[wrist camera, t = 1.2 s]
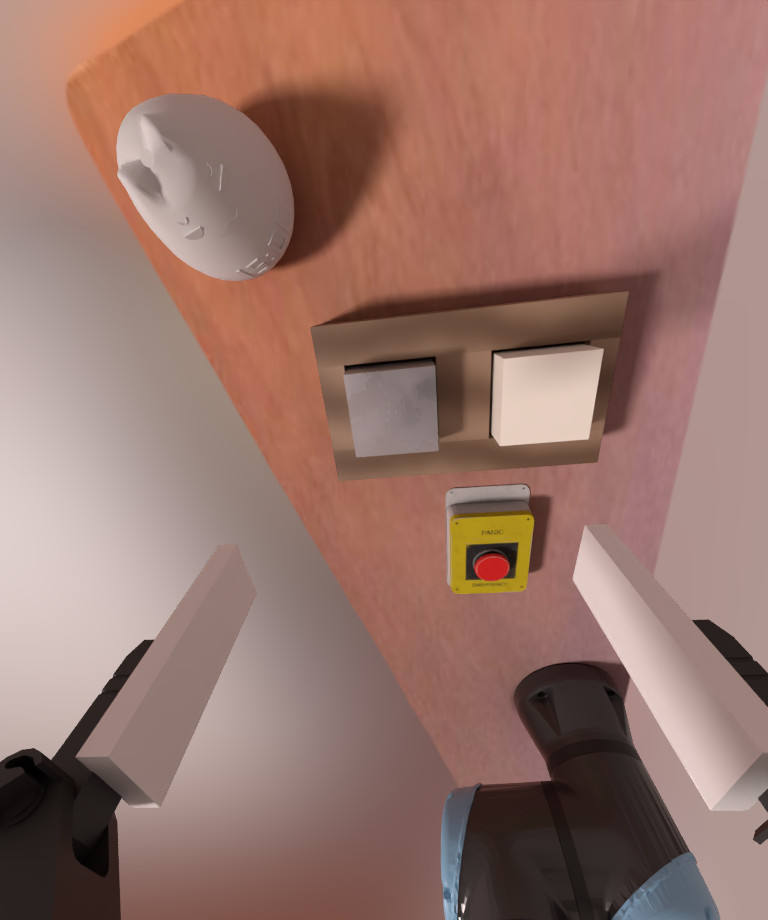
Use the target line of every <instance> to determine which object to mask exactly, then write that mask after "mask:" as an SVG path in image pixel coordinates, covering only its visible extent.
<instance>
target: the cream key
mask: <svg viewBox="0 0 768 920" xmlns="http://www.w3.org/2000/svg"><path fill="white" fill-rule="evenodd" d="M603 351H604V349H602V348H598V347H594V346H589V345H585V344H581V343H580V344H570V345H561V346H551V347H541V348H531V349H521V350H511V351H501V352H492V379H491V410H490V433H491V434H492V436H493V437H494V438H495V440H496V441H497V443H498V444H499V446H509V445H522V444H535V443H548V442H561V441H573V440H586V439H589V435H590V429H591V423H592V417H593V411H594V405H595V399H596V393H597V387H598V381H599V375H600V369H601V363H602V357H603Z"/></svg>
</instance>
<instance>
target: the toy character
mask: <svg viewBox="0 0 768 920" xmlns="http://www.w3.org/2000/svg"><path fill="white" fill-rule="evenodd" d="M116 151H117V162H118V167H119V170H118V174H117V176H118V178H119V179H120V181H121V182H122V184H123V185H124V187H125V188H126V190H127V192H128V194H129V196H130V197H131V199H132V201H133V203H134V205H135V207H136V208H137V210H138V211H139V213H140V214H141V216H142V217H143V219H144V220H145V221H146V223H147V224H148V225H149V227H150V228H151V229H152V231H153V232H154V233H155V234H156V235H157V236H158V237H159V238H160V239H161V241H162V242H163V243H164V244H165V245H166V246H167V247H168V248H169V249H170V250H171V251H172V252H173V253H174V254H175V255H176V256H177V257H178V258H180V259H181V260H182V261H184V262H185V263H186V264H188V265H189V266H191V267H193V268H194V269H196V270H198V271H200V272H202V273H204V274H206V275H208V276H210V277H214V278H217V279H221V280H232V281H244V280H249V279H254V278H256V277H259V276H261V275H263V274H265V273H266V272H268V271H269V270H270V269H272V268H273V267H274V266H275V265H276V264H277V262H278V261H279V260H280V259H281V258H282V256H283V255H284V253H285V251H286V249H287V247H288V245H289V242H290V239H291V236H292V232H293V225H294V198H293V193H292V188H291V183H290V180H289V177H288V174H287V171H286V169H285V166H284V164H283V162H282V160H281V158H280V157H279V155H278V153H277V151H276V149H275V148H274V146H273V145H272V144H271V142H270V141H269V139H268V138H267V137H266V136H265V134H264V133H263V132H262V131H261V129H260V128H259V127H258V126H257V125H256V124H255V123H254V122H253V121H252V120H250V119H249V118H248V117H247V116H246V115H245V114H243V113H242V112H240V111H238V110H237V109H235V108H233V107H232V106H230V105H228V104H226V103H224V102H222V101H220V100H218V99H215V98H211V97H208V96H205V95H193V94H167V95H162V96H158V97H154V98H151V99H148V100H146V101H144V102H142V103H140V104H139V105H137V106H135V107H133V108H132V109H131V110H130V112H129V113H128V114H127V115H126V116H125V118H124V120H123V122H122V124H121V126H120V129H119V133H118V136H117V147H116Z"/></svg>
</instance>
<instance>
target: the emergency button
mask: <svg viewBox="0 0 768 920" xmlns="http://www.w3.org/2000/svg"><path fill="white" fill-rule="evenodd" d="M529 496H530V490H529V487H528V486H527V485H525V484H511V485H493V486H476V487H459V488H452V489H449V491H448V492H447V493H446V547H447V582H448V585H449V586H451V589H452V591H453V592H454V593H457V594H470V593H499V592H520V591H523V590H525V589H526V587H527V579H528V570H529V562H530V553H531V545H532V536H533V528H534V517H533V515H532V513H531V511H530V509H529V506H528V505H529Z"/></svg>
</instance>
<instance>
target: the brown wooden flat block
mask: <svg viewBox="0 0 768 920" xmlns="http://www.w3.org/2000/svg"><path fill="white" fill-rule="evenodd" d="M628 295H629V291H624V292H600V293H589V294H580V295H572V296H563V297H554V298H545V299H536V300H527V301H519V302H510V303H501V304H492V305H483V306H475V307H466V308H457V309H448V310H439V311H430V312H422V313H413V314H404V315H395V316H386V317H378V318H369V319H360V320H351V321H342V322H333V323H325V324H320V325H316V326H313V327H310V328H311V334H312V339H313V345H314V350H315V355H316V361H317V366H318V371H319V377H320V382H321V388H322V393H323V398H324V404H325V409H326V414H327V420H328V425H329V431H330V436H331V441H332V447H333V452H334V457H335V463H336V468H337V473H338V479H339V481H346V480H360V479H374V478H388V477H402V476H416V475H429V474H443V473H457V472H471V471H485V470H499V469H512V468H526V467H540V466H554V465H568V464H582V463H595V462H598V457H599V451H600V446H601V440H602V435H603V430H604V424H605V419H606V413H607V408H608V403H609V397H610V392H611V386H612V381H613V376H614V370H615V365H616V359H617V354H618V349H619V343H620V338H621V332H622V327H623V322H624V316H625V311H626V306H627V300H628ZM580 343H581V344H585V345H589V346H594V347H598V348H602V349H604V351H603V357H602V363H601V369H600V375H599V381H598V387H597V393H596V399H595V405H594V411H593V417H592V423H591V429H590V435H589V439H586V440H573V441H561V442H548V443H535V444H522V445H509V446H499V444H498V443H497V441H496V440H495V438H494V437H493V436H492V434H491V433H490V410H491V379H492V352H501V351H511V350H521V349H531V348H541V347H551V346H561V345H570V344H580ZM423 359H432V360H433V362H434V364H435V369H436V395H437V420H438V446H439V451H432V452H420V453H407V454H394V455H381V456H368V457H356V453H355V447H354V441H353V434H352V428H351V421H350V415H349V408H348V402H347V396H346V389H345V383H344V376H343V375H344V373H345V372H346V371H347V369H348V368H349V367H354V366H363V365H373V364H383V363H393V362H403V361H413V360H423Z"/></svg>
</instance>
